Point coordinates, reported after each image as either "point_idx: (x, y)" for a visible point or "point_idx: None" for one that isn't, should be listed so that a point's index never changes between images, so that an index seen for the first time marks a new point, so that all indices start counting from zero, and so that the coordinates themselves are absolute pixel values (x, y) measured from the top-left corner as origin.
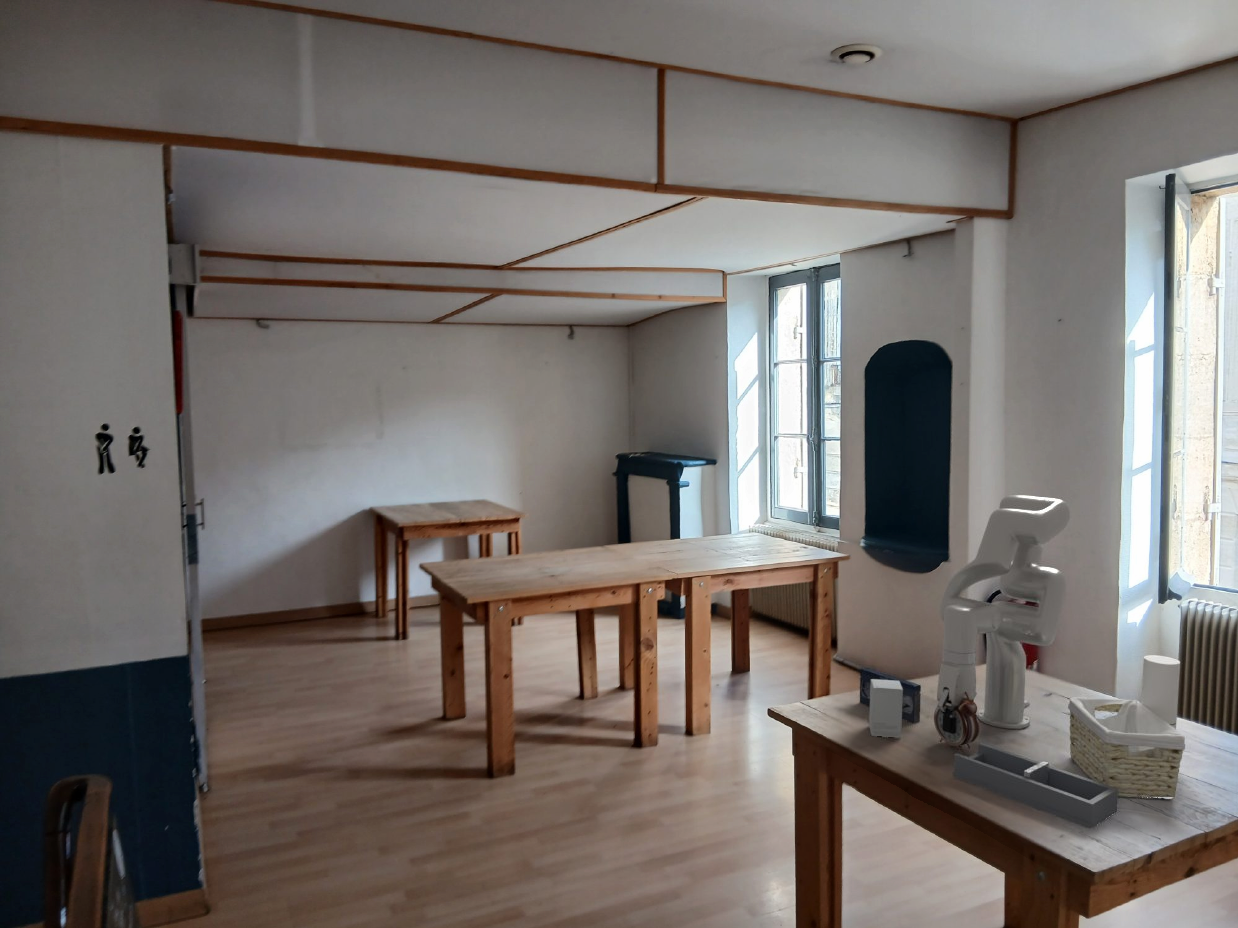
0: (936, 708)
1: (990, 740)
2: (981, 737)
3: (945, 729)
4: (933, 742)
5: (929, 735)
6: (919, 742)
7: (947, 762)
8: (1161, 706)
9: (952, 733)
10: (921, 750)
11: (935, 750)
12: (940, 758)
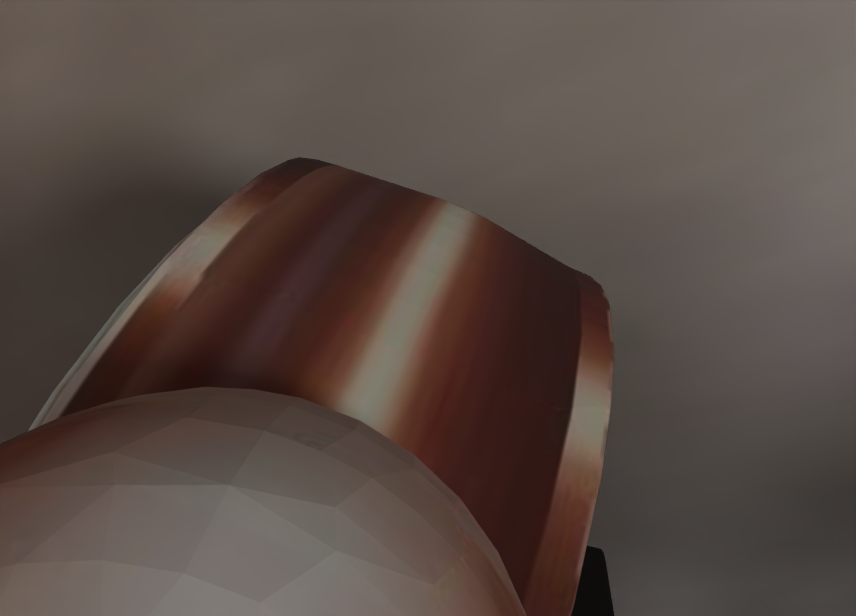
0: (169, 268)
1: (798, 575)
2: (837, 495)
3: None
4: (332, 155)
5: (512, 18)
6: (212, 27)
7: (15, 424)
8: None
9: None
10: (42, 147)
11: (154, 256)
12: (35, 355)
